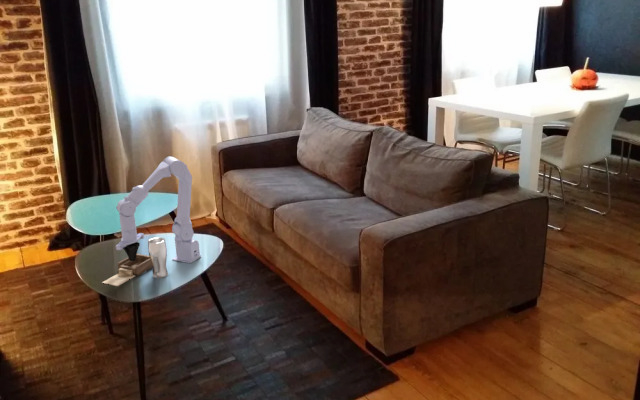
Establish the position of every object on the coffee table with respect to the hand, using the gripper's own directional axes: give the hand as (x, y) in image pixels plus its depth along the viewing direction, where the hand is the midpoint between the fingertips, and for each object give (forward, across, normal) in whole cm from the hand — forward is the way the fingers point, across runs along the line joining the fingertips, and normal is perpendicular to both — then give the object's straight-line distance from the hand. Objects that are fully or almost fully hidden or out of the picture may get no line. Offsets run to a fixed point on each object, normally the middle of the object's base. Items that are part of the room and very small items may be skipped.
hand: (132, 260), depth 247 cm
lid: (+5, +9, 0) cm, 10 cm away
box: (+5, -2, 0) cm, 5 cm away
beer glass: (+5, -1, +13) cm, 14 cm away
